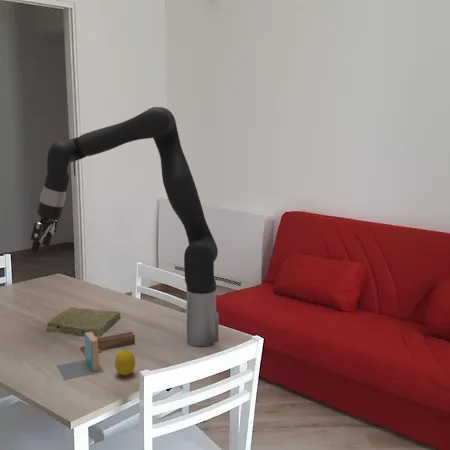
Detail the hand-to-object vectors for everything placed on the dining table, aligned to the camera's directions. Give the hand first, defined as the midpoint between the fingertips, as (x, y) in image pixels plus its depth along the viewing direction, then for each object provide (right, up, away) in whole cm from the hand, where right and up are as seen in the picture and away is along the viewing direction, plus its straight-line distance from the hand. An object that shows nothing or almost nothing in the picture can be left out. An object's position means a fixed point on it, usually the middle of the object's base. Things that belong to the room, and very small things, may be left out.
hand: (40, 248), depth 187 cm
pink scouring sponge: (+22, -33, -21) cm, 45 cm away
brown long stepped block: (+24, -31, -8) cm, 39 cm away
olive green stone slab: (+11, -27, +11) cm, 31 cm away
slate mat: (+19, -33, -23) cm, 45 cm away
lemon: (+32, -35, -26) cm, 54 cm away
